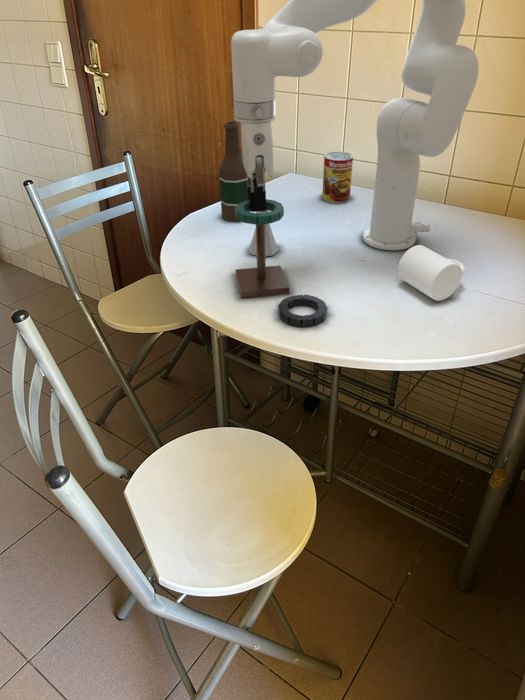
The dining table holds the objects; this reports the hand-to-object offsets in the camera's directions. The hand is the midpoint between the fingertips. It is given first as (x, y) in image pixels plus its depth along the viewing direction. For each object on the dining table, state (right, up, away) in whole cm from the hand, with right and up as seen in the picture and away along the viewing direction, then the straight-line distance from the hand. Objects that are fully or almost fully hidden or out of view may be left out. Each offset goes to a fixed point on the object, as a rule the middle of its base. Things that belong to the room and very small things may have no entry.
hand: (256, 207), depth 106 cm
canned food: (+22, +15, +46) cm, 54 cm away
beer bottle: (-6, +7, +37) cm, 38 cm away
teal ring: (+1, -2, -3) cm, 4 cm away
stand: (+1, -15, +6) cm, 16 cm away
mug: (+37, -16, +4) cm, 40 cm away
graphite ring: (+9, -22, -3) cm, 24 cm away
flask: (+1, -5, +19) cm, 20 cm away
